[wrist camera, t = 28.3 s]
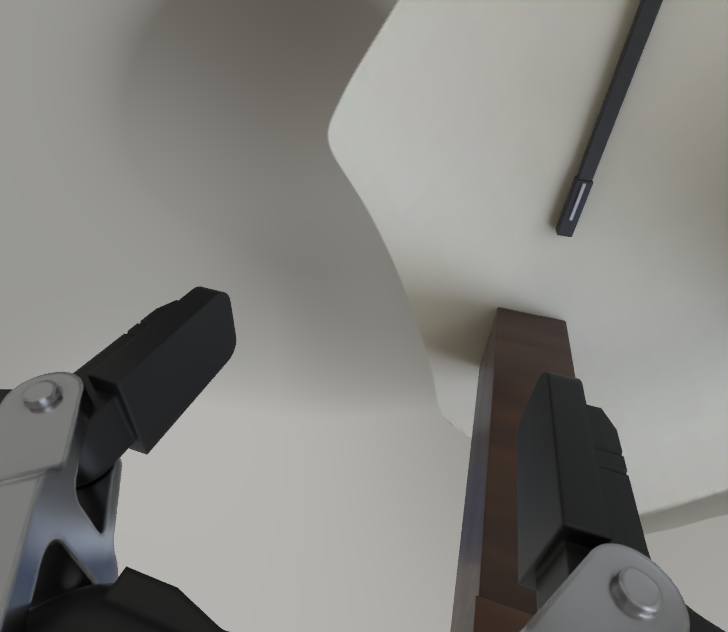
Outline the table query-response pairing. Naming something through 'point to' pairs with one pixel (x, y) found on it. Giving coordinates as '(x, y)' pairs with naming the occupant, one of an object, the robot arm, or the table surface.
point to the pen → (608, 115)
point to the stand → (501, 472)
